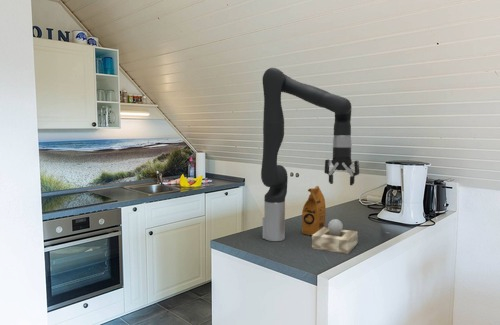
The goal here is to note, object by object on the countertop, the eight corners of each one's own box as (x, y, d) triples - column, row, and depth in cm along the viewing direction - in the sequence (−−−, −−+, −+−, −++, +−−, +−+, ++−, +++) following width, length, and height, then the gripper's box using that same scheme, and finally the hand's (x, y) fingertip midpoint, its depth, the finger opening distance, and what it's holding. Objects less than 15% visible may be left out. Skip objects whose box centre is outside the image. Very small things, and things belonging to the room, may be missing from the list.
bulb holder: (311, 248, 152) (312, 235, 152) (323, 238, 165) (323, 226, 165) (347, 254, 145) (348, 240, 144) (357, 244, 158) (357, 231, 157)
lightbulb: (326, 246, 154) (327, 220, 153) (328, 241, 159) (329, 217, 158) (341, 247, 151) (342, 221, 150) (343, 243, 157) (343, 218, 156)
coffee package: (298, 234, 173) (298, 188, 171) (309, 228, 183) (310, 184, 181) (318, 237, 168) (318, 189, 166) (328, 231, 178) (329, 186, 176)
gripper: (322, 146, 154) (322, 184, 156) (356, 146, 147) (355, 186, 148) (328, 145, 161) (328, 182, 162) (361, 146, 153) (360, 184, 155)
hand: (341, 184), depth 155 cm, fingers open, 8 cm apart
